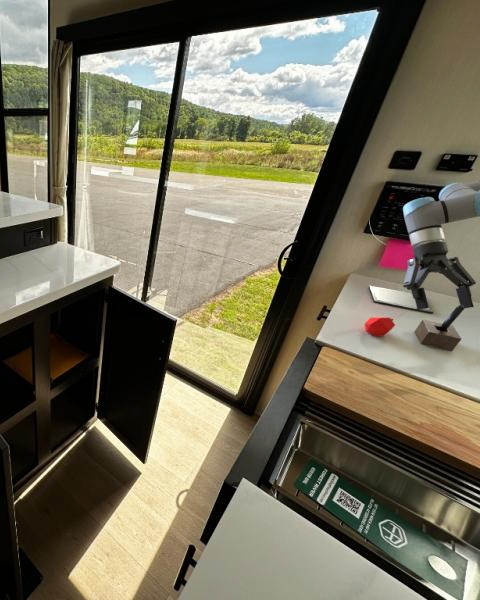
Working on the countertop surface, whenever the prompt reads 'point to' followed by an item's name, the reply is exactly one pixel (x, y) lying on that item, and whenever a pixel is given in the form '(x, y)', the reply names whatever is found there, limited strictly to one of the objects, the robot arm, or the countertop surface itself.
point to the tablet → (396, 298)
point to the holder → (437, 335)
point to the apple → (379, 326)
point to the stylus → (451, 318)
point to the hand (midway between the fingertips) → (445, 308)
